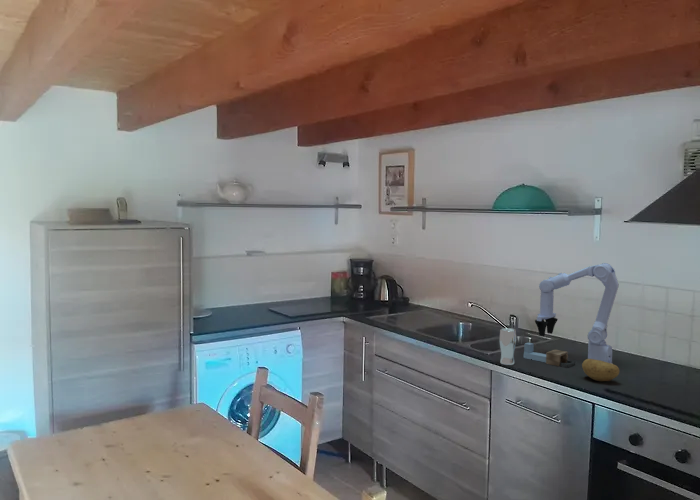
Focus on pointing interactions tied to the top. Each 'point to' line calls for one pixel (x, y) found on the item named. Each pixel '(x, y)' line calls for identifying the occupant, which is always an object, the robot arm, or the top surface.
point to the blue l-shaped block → (533, 353)
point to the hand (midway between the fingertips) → (545, 334)
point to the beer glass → (507, 345)
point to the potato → (600, 370)
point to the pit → (567, 364)
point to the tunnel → (556, 357)
